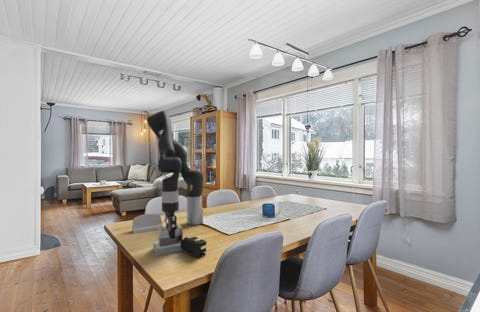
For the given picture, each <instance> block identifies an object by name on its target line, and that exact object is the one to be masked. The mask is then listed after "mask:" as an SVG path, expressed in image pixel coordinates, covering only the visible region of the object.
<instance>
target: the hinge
mask: <svg viewBox="0 0 480 312" xmlns="http://www.w3.org/2000/svg"><path fill="white" fill-rule="evenodd" d="M161 227H164V225H163V221H162V218H161V215H160V214H156V213H145V214H142V215H138V216H136V217H134V218H133V219H132V227H131V232H132V233H133V234H141V233H146V232H147V233H148V232H152V231H153V232H154V231H158V228H161Z"/></svg>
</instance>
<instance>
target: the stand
mask: <svg viewBox="0 0 480 312" xmlns="http://www.w3.org/2000/svg"><path fill="white" fill-rule="evenodd" d="M152 244H153V245H152V249H153V252H154V254H155V256H156V257H157V256H163V255H164V256H165V255H170V254H175V253H179V252H180V253H181V252H184V251H183V250H182V249H181V243H179V244H173V245H167V246H161V247H160V245H159V243H158V241H157V242H156V241H155V242H153V243H152Z"/></svg>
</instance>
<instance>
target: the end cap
mask: <svg viewBox="0 0 480 312" xmlns="http://www.w3.org/2000/svg"><path fill="white" fill-rule="evenodd" d="M205 246H207V241H206V240H205V239H200V240H199V237H197V236H192V237H188V236H185V237H183V240H182V241H181V249H182V250H183V251H182V252H185V253H187V254H189V255H191V256H193V257H195V258H198V259H199V258H201V257H204V256H206V252H207V247H205ZM202 247H204V248H202Z"/></svg>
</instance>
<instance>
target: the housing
mask: <svg viewBox="0 0 480 312" xmlns="http://www.w3.org/2000/svg"><path fill="white" fill-rule="evenodd" d="M172 227H174V225H172ZM157 236H158V239H157V240H158V241H157V242H158V243H159V245H160V247H161V246H167V245H173V244H179V243H181V241H182V240H183V239H184V237H183V227H182V226H181V224H179V225H177V230H175V238H173V239H171V238H170V227H166V226H163V227H161V228H158V230H157Z"/></svg>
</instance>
